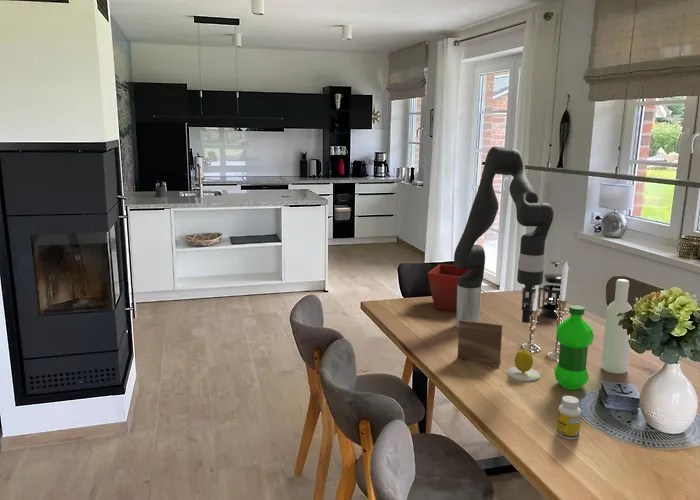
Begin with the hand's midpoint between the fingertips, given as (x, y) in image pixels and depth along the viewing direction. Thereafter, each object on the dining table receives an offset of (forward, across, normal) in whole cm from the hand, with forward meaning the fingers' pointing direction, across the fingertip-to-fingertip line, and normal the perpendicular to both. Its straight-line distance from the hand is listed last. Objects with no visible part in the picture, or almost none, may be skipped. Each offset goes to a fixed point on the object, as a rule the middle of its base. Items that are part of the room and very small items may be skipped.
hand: (527, 318), depth 177 cm
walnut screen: (+19, +5, +15) cm, 25 cm away
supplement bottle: (+19, -34, -14) cm, 41 cm away
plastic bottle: (+19, -3, -14) cm, 24 cm away
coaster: (+19, 0, 0) cm, 19 cm away
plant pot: (+20, +64, +36) cm, 76 cm away
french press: (+20, +69, -5) cm, 72 cm away
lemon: (+18, 0, 0) cm, 18 cm away
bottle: (+19, +16, -27) cm, 37 cm away
